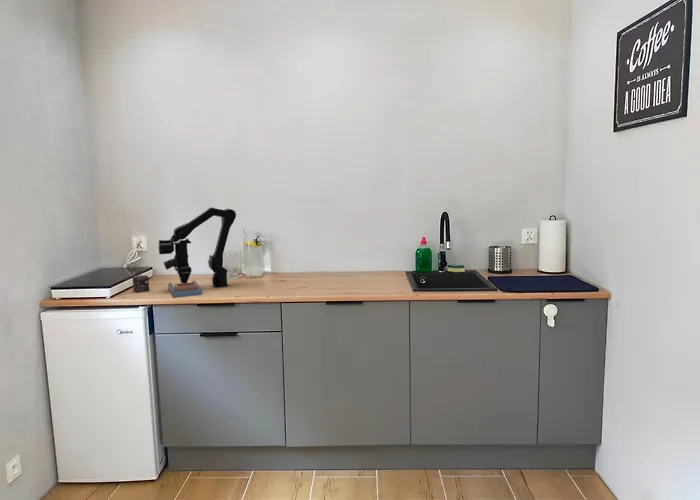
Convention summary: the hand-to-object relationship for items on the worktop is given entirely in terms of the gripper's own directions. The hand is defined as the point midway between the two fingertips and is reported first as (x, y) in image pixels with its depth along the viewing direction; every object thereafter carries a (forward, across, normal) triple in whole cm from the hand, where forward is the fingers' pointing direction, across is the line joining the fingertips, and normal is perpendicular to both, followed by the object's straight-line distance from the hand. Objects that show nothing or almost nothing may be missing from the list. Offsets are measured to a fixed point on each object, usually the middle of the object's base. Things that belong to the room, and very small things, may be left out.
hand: (183, 284), depth 253 cm
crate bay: (+2, +5, 0) cm, 5 cm away
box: (+3, -6, -19) cm, 20 cm away
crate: (+2, +10, 0) cm, 10 cm away
